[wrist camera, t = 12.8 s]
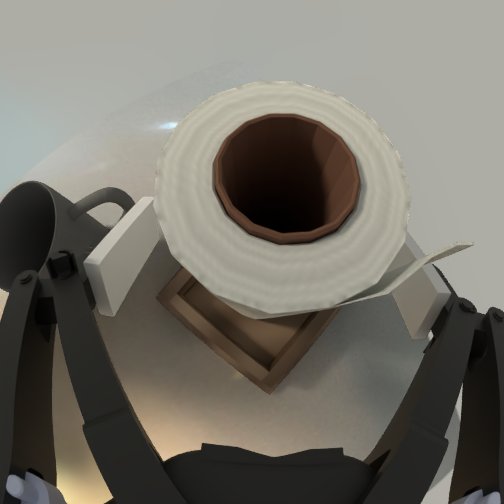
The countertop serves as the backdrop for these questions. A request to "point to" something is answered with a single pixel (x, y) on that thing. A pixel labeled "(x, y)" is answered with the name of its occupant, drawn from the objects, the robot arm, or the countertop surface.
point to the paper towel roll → (285, 200)
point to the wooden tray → (244, 331)
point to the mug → (47, 226)
